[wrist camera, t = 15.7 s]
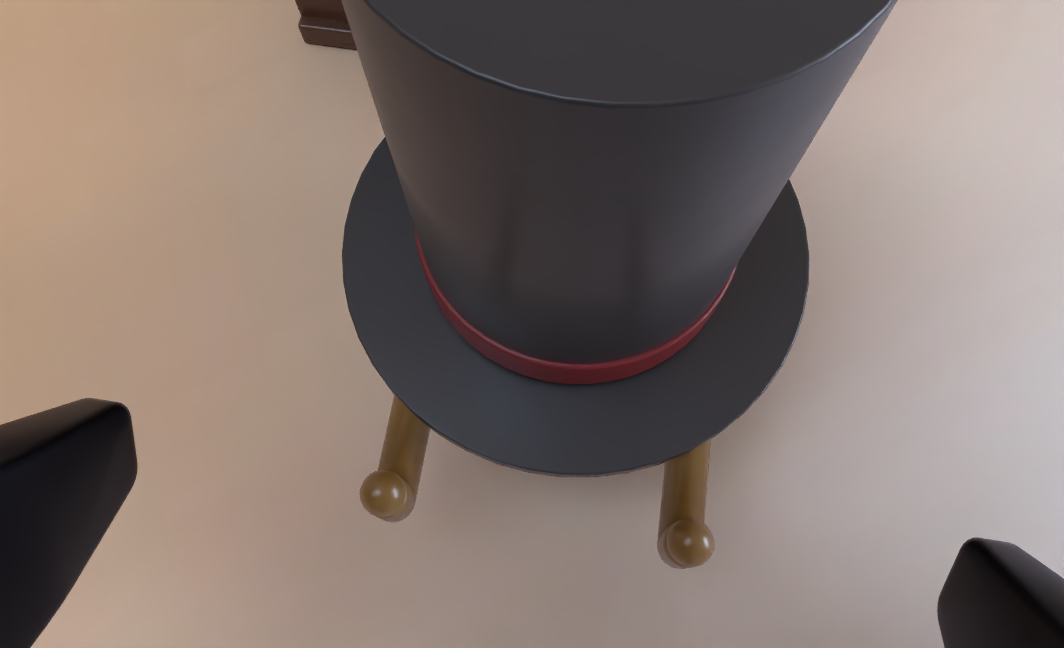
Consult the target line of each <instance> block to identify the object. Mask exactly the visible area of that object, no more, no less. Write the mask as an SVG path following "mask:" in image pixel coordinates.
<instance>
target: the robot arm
mask: <svg viewBox="0 0 1064 648" xmlns="http://www.w3.org/2000/svg"><path fill="white" fill-rule="evenodd" d="M136 475H137V457H136V449H135V442H134V435H133V428H132V420H131V415H130V412H129V410H128V408H127V407H126V406H125V405H123V404H122V403H119V402H113V401H107V400H100V399H94V398H85V399H81V400H78V401H74V402H71V403H68V404H65V405H62V406H59V407H56V408H52V409H49V410H46V411H43V412H40V413H37V414H34V415H31V416H27V417H24V418H21V419H18V420H15V421H12V422H9V423H5V424H2V425H0V648H31V646H32V645H33V643H34V642H35V641H36V639H37V638H38V637H39V635H40V634H41V633H42V631H43V630H44V629H45V627H46V626H47V624H48V623H49V622H50V620H51V619H52V617H53V616H54V615H55V613H56V612H57V610H58V609H59V607H60V606H61V604H62V603H63V601H64V600H65V598H66V597H67V595H68V594H69V592H70V590H71V589H72V587H73V586H74V584H75V582H76V581H77V579H78V577H79V576H80V574H81V572H82V571H83V569H84V567H85V566H86V564H87V562H88V561H89V559H90V557H91V556H92V554H93V552H94V551H95V549H96V547H97V546H98V544H99V542H100V541H101V539H102V537H103V536H104V534H105V532H106V531H107V529H108V527H109V526H110V524H111V522H112V521H113V519H114V517H115V516H116V514H117V512H118V511H119V509H120V507H121V506H122V504H123V502H124V501H125V499H126V497H127V496H128V494H129V492H130V491H131V489H132V487H133V484H134V482H135V479H136ZM937 612H938V621H939V626H940V630H941V634H942V638H943V642H944V647H945V648H1064V579H1063V578H1062V577H1061V576H1059V575H1058V574H1056V573H1055V572H1053V571H1052V570H1051V569H1049V568H1048V567H1046V566H1045V565H1043V564H1042V563H1041V562H1039V561H1038V560H1036V559H1035V558H1033V557H1032V556H1031V555H1029V554H1028V553H1026V552H1025V551H1023V550H1022V549H1021V548H1019V547H1018V546H1016V545H1014V544H1011V543H1008V542H1002V541H996V540H989V539H983V538H971V539H969V540H967V541H966V542H965V543H964V544H963V545H962V547H961V549H960V551H959V553H958V555H957V557H956V559H955V562H954V564H953V566H952V568H951V571H950V573H949V575H948V577H947V579H946V582H945V584H944V586H943V588H942V591H941V593H940V596H939V600H938V608H937Z"/></svg>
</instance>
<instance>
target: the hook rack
mask: <svg viewBox="0 0 1064 648" xmlns="http://www.w3.org/2000/svg"><path fill="white" fill-rule="evenodd" d="M295 1H296V4H297V6H298V9H299V11H300V14H301V18H300V22H299V25H298V26H299V29H300V32H301V34H302V37H303V39H304V41H305V42H306V43H312V44H320V45H328V46H335V47H343V48H351V49H357V47H356V44H355V41H354V38H353V35H352V32H351V29H350V26H349V23H348V20H347V17H346V13H345V10H344V7H343V4H342V1H341V0H295ZM429 431H430V427H429V426H427V425H426V424H425V423H423V422H422V421H421V420H420V419H418V418H417V417H416V416H415V415H414V414H413V413H412V412H411V411H410V410H409V409H408V408H407V407H406V406H405V405H404V404H403V403H402V402H401V401H400V400H399V399H398V398H397V397H396V396H395V395H394V400H393V404H392V409H391V413H390V418H389V422H388V427H387V431H386V436H385V440H384V445H383V449H382V454H381V458H380V463H379V467H378V471H375V472H373V473H371V474H370V475H369V476H367V477H366V479H365V480H364V481H363V483H362V485H361V488H360V500H361V503H362V505H363V507H364V508H365V509H366V510H367V511H368V512H369V513H370V514H372V515H374V516H376V517H378V518H380V519H382V520H384V521H388V522H398V521H401V520H403V519H405V518H406V517H407V516H408V515H409V514H410V513H411V512H412V510H413V508H414V505H415V500H416V495H417V490H418V485H419V480H420V476H421V471H422V466H423V461H424V456H425V451H426V446H427V441H428V436H429ZM710 440H711V439H710ZM710 440H708V441H706V442H705V443H703V444H701V445H700V446H698V447H696V448H695V449H693V450H691V451H690V452H688V453H685V454H683V455H680V456H678V457H676V458H673V459H671V460H668V461H666V462H665V470H664V480H663V490H662V501H661V511H660V521H659V531H658V541H657V548H658V552H659V555H660V557H661V558H662V560H663V561H664V562H665V563H666V564H668V565H669V566H671V567H673V568H677V569H685V568H690V567H696V566H700V565H702V564H704V563H705V562H706V561H707V560H708V559H709V558H710V557H711V555H712V553H713V550H714V538H713V535H712V532H711V530H710V529H709V528H708V526H707V525H706V524H704V515H705V503H706V490H707V477H708V465H709V452H710Z"/></svg>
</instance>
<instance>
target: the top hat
mask: <svg viewBox="0 0 1064 648" xmlns="http://www.w3.org/2000/svg"><path fill="white" fill-rule="evenodd" d="M341 1H342V4H343V7H344V10H345V13H346V17H347V20H348V23H349V26H350V29H351V32H352V35H353V38H354V41H355V44H356V47H357V51H358V54H359V57H360V60H361V63H362V66H363V69H364V72H365V75H366V78H367V81H368V85H369V88H370V91H371V94H372V97H373V100H374V103H375V106H376V109H377V112H378V115H379V118H380V122H381V125H382V128H383V131H384V134H385V138H384V139H383V140H382V142H381V143H380V144H379V146H378V147H377V148H376V150H375V151H374V153H373V155H372V156H371V158H370V160H369V162H368V163H367V165H366V167H365V169H364V171H363V172H362V174H361V177H360V179H359V182H358V184H357V187H356V189H355V192H354V194H353V197H352V199H351V203H350V207H349V211H348V215H347V219H346V223H345V229H344V239H343V250H342V263H343V283H344V288H345V293H346V298H347V303H348V308H349V312H350V315H351V318H352V321H353V323H354V326H355V329H356V332H357V335H358V338H359V340H360V342H361V343H362V345H363V347H364V349H365V351H366V353H367V355H368V357H369V359H370V361H371V363H372V364H373V366H374V367H375V369H376V370H377V372H378V373H379V374H380V376H381V377H382V378H383V380H384V381H385V383H386V384H387V385H388V387H389V388H390V390H391V391H392V392H393V394H394V395H395V396H396V397H397V398H398V399H399V400H400V401H401V402H402V403H403V404H404V405H405V406H406V407H407V408H408V409H409V410H410V411H411V412H412V413H413V414H414V415H415V416H416V417H417V418H418V419H420V420H421V421H422V422H423V423H425V424H426V425H427V426H429V427H430V428H431V429H432V430H434V431H435V432H436V433H437V434H439V435H440V436H442V437H444V438H445V439H447V440H449V441H450V442H452V443H454V444H455V445H457V446H459V447H460V448H462V449H464V450H466V451H468V452H470V453H472V454H475V455H477V456H479V457H482V458H484V459H486V460H489V461H491V462H494V463H496V464H499V465H503V466H506V467H510V468H514V469H517V470H521V471H525V472H528V473H535V474H543V475H550V476H557V477H600V476H608V475H615V474H623V473H629V472H633V471H637V470H640V469H644V468H648V467H652V466H655V465H659V464H661V463H664V462H666V461H668V460H671V459H673V458H676V457H678V456H680V455H683V454H685V453H688V452H690V451H691V450H693V449H695V448H696V447H698V446H700V445H701V444H703V443H705V442H706V441H708V440H710V439H711V438H713V437H715V436H716V435H718V434H719V433H720V432H721V431H723V430H724V429H725V428H726V427H728V426H729V425H730V424H731V423H733V422H734V421H735V420H736V419H738V418H739V417H740V416H741V415H742V414H744V413H745V411H746V410H747V409H748V408H749V407H750V406H751V405H752V404H753V403H754V402H755V401H756V400H757V399H758V398H759V396H760V395H761V394H762V393H763V392H764V391H765V390H766V388H767V387H768V386H769V384H770V383H771V381H772V380H773V378H774V377H775V375H776V374H777V373H778V371H779V370H780V368H781V367H782V365H783V363H784V361H785V359H786V357H787V355H788V353H789V351H790V349H791V347H792V345H793V343H794V341H795V338H796V335H797V332H798V329H799V326H800V323H801V320H802V317H803V314H804V309H805V303H806V297H807V291H808V285H809V251H808V243H807V235H806V227H805V224H804V220H803V216H802V213H801V209H800V205H799V202H798V199H797V197H796V194H795V192H794V190H793V187H792V185H791V183H790V180H789V178H790V176H791V174H792V173H793V171H794V169H795V168H796V166H797V165H798V163H799V161H800V160H801V158H802V156H803V155H804V153H805V151H806V150H807V148H808V147H809V145H810V143H811V142H812V140H813V138H814V137H815V135H816V133H817V132H818V130H819V128H820V127H821V125H822V124H823V122H824V120H825V119H826V117H827V115H828V114H829V112H830V110H831V109H832V107H833V105H834V104H835V102H836V101H837V99H838V97H839V96H840V94H841V92H842V91H843V89H844V87H845V86H846V84H847V83H848V81H849V79H850V78H851V76H852V74H853V73H854V71H855V69H856V68H857V66H858V64H859V63H860V61H861V60H862V58H863V56H864V55H865V53H866V51H867V50H868V48H869V46H870V45H871V43H872V42H873V40H874V38H875V37H876V35H877V33H878V32H879V30H880V28H881V27H882V25H883V23H884V22H885V20H886V19H887V17H888V15H889V14H890V12H891V10H892V9H893V7H894V5H895V4H896V2H897V1H898V0H341Z"/></svg>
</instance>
